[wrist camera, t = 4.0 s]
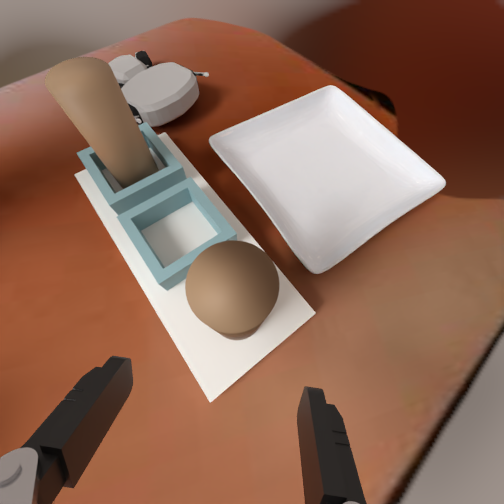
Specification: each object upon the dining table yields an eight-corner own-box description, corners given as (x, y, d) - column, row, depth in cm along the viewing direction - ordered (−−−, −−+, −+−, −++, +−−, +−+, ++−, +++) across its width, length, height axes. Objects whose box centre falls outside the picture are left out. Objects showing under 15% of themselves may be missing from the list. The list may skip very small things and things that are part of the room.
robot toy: (89, 107, 36) (155, 149, 31) (67, 74, 31) (140, 118, 27) (150, 69, 40) (216, 103, 35) (138, 35, 35) (211, 68, 31)
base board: (212, 399, 21) (173, 461, 9) (82, 182, 29) (-25, 72, 17) (311, 315, 24) (376, 283, 12) (168, 141, 32) (126, 24, 21)
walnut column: (231, 351, 21) (220, 354, 11) (201, 308, 22) (167, 273, 12) (273, 318, 22) (298, 292, 12) (242, 278, 23) (242, 225, 13)
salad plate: (432, 197, 31) (454, 180, 27) (307, 286, 25) (316, 277, 22) (325, 103, 37) (333, 80, 34) (208, 158, 32) (204, 137, 28)
